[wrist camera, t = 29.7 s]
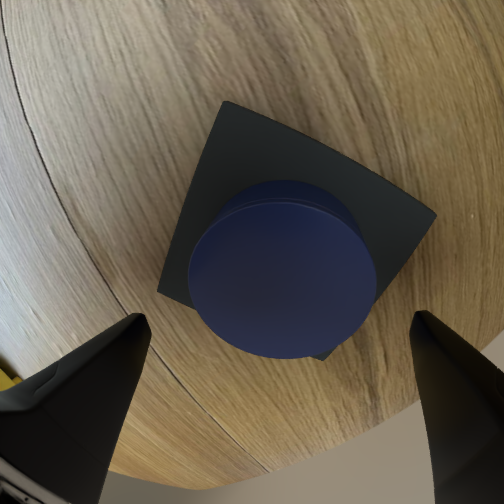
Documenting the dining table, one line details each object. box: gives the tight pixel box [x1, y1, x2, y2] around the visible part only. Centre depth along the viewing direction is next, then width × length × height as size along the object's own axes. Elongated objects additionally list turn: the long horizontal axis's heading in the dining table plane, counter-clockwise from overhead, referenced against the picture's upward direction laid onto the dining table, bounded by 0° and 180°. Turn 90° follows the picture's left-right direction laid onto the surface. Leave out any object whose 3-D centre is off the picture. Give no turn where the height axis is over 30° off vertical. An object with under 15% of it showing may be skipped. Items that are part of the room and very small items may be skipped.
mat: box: [157, 101, 437, 361], centre depth 13 cm, size 10×10×1 cm
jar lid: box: [188, 180, 377, 359], centre depth 12 cm, size 7×7×3 cm
